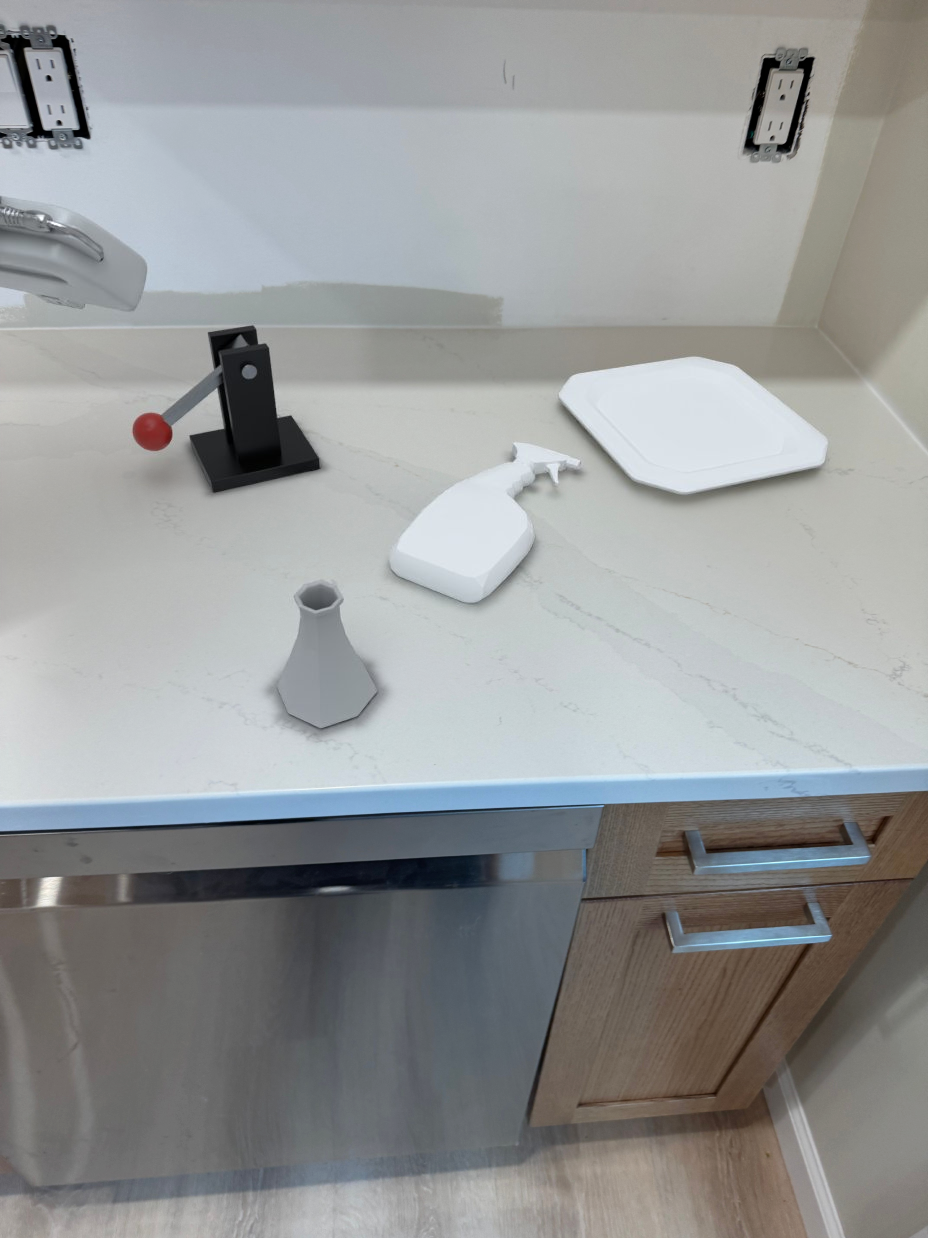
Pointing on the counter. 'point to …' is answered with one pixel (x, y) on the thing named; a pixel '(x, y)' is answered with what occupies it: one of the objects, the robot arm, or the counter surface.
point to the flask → (323, 662)
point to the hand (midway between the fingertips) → (70, 296)
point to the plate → (691, 424)
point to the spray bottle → (475, 528)
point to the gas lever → (177, 409)
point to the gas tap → (249, 420)
